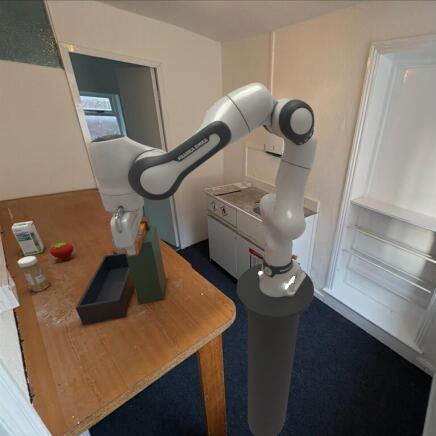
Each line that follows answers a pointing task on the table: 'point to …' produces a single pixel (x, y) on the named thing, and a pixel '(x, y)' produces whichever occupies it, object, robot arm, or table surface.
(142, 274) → the pedestal
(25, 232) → the syrup box
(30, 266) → the sprinkles bottle
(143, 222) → the orange bar brown end
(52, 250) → the strawberry
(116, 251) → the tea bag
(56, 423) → the table surface
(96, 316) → the drawer
